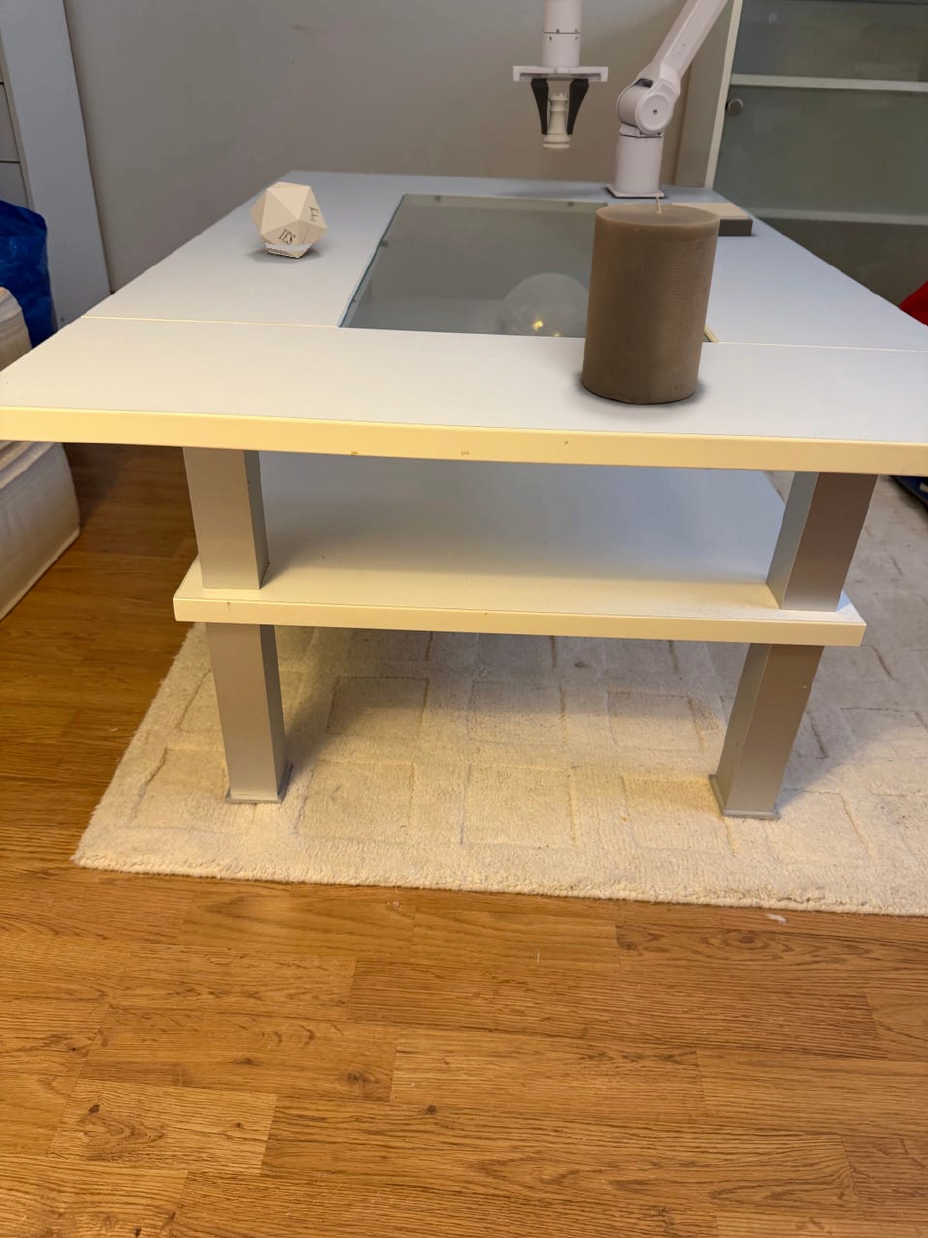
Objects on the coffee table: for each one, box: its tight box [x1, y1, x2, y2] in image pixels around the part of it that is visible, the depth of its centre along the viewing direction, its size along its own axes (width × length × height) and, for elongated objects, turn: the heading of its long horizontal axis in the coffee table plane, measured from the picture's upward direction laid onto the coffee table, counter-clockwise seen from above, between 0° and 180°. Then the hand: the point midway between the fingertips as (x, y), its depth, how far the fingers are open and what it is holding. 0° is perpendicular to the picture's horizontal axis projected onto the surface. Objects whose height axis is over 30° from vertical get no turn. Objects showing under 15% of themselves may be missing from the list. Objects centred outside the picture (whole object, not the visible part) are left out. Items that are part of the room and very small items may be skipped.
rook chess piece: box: [541, 90, 571, 152], centre depth 149 cm, size 4×4×8 cm
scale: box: [669, 202, 754, 237], centre depth 135 cm, size 10×10×3 cm
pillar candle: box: [581, 195, 720, 405], centre depth 77 cm, size 10×10×15 cm
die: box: [249, 181, 329, 258], centre depth 118 cm, size 8×9×10 cm
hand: (556, 133), depth 150 cm, fingers closed on rook chess piece, 3 cm apart
